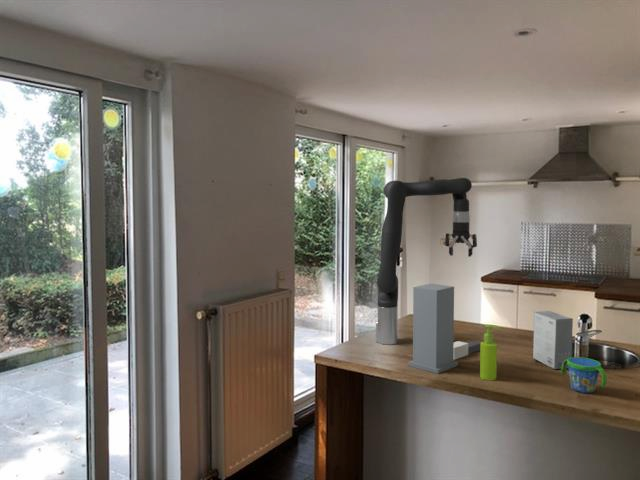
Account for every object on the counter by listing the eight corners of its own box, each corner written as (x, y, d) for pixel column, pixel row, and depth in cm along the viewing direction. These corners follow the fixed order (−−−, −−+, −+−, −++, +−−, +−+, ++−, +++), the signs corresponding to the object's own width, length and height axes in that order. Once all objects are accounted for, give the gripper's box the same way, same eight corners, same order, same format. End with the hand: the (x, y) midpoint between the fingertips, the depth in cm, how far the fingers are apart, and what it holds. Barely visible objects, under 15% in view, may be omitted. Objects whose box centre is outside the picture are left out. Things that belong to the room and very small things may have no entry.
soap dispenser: (497, 381, 191) (498, 328, 189) (478, 378, 195) (478, 325, 193) (500, 377, 196) (501, 324, 194) (482, 373, 200) (483, 322, 198)
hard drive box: (572, 368, 205) (573, 318, 203) (554, 370, 203) (555, 319, 202) (548, 356, 220) (550, 310, 218) (532, 358, 219) (533, 311, 217)
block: (454, 359, 217) (454, 347, 217) (444, 356, 221) (444, 345, 221) (482, 349, 231) (482, 338, 231) (472, 347, 235) (472, 336, 234)
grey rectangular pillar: (437, 373, 200) (438, 291, 197) (408, 365, 210) (408, 287, 208) (457, 365, 210) (458, 286, 207) (428, 358, 220) (429, 282, 217)
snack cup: (613, 395, 177) (614, 365, 177) (592, 400, 173) (593, 370, 172) (574, 380, 192) (575, 353, 191) (553, 385, 187) (554, 357, 186)
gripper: (443, 221, 243) (443, 256, 244) (474, 221, 235) (473, 257, 236) (448, 220, 249) (448, 254, 250) (478, 221, 241) (478, 256, 243)
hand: (460, 255), depth 243 cm, fingers open, 8 cm apart
